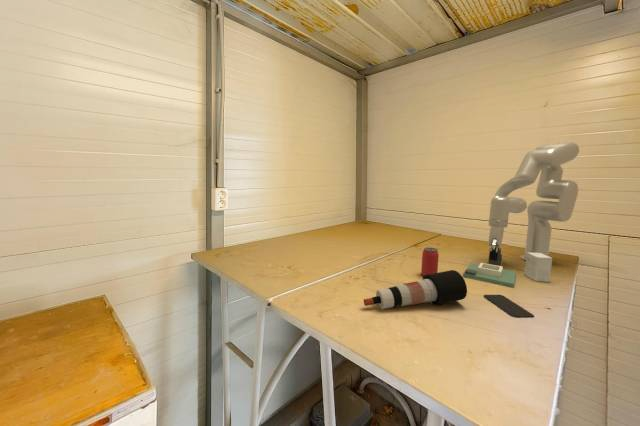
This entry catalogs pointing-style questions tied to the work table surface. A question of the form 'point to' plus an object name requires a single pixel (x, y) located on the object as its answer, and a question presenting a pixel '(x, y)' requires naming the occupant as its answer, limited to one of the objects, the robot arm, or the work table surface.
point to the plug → (499, 259)
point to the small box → (538, 267)
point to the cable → (423, 291)
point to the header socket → (490, 270)
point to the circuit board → (505, 279)
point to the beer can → (429, 261)
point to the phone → (508, 306)
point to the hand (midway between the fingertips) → (494, 257)
